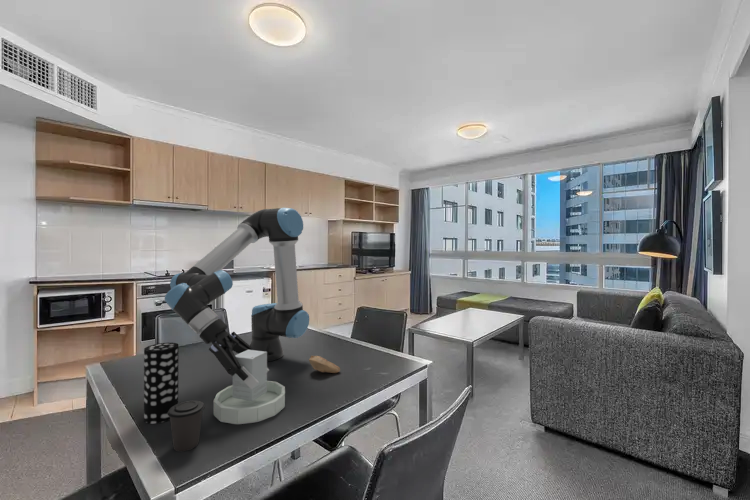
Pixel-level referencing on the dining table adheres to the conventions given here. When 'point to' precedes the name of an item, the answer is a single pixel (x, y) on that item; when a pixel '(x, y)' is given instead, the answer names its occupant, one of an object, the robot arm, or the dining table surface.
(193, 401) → the coffee cup
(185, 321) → the robot arm
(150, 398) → the white-spotted black cylinder
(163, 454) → the dining table surface
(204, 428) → the dining table surface
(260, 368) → the supplement box
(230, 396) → the bowl
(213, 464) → the dining table surface
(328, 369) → the pottery oil lamp
